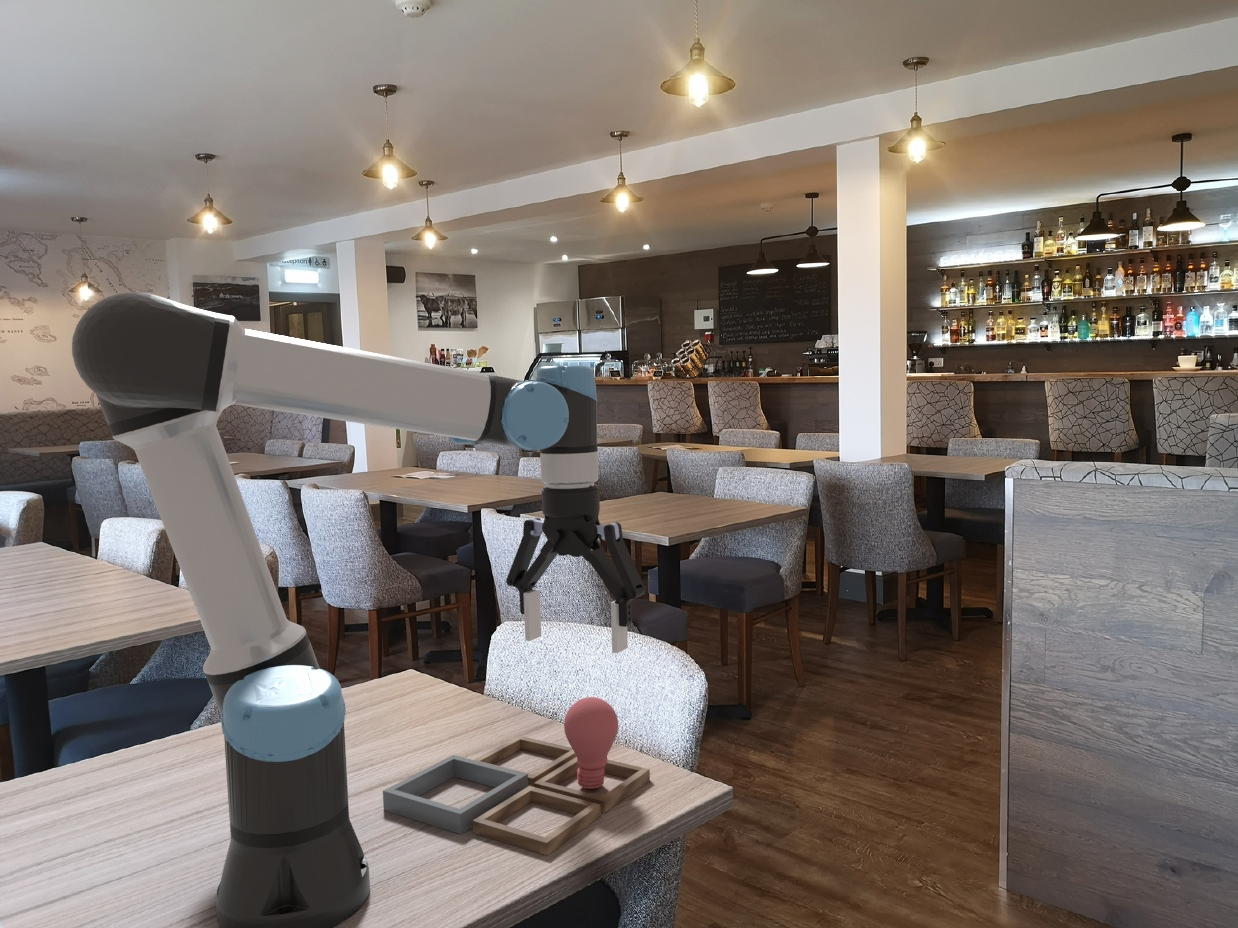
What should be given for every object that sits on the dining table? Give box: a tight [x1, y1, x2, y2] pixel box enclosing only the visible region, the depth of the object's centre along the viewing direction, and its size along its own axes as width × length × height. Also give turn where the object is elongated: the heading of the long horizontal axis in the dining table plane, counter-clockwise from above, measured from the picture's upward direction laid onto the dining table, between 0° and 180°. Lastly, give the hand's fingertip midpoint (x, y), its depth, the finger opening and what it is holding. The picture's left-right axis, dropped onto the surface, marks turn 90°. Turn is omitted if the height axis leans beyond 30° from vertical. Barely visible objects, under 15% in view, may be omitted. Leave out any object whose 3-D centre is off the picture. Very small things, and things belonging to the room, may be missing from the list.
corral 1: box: [382, 754, 528, 835], centre depth 119 cm, size 13×13×2 cm
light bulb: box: [563, 696, 619, 790], centre depth 122 cm, size 7×7×12 cm
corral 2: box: [473, 735, 577, 787], centre depth 130 cm, size 11×11×2 cm
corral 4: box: [534, 757, 651, 814], centre depth 123 cm, size 11×11×2 cm
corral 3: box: [472, 786, 602, 856], centre depth 112 cm, size 11×11×2 cm
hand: (575, 644), depth 123 cm, fingers open, 13 cm apart
